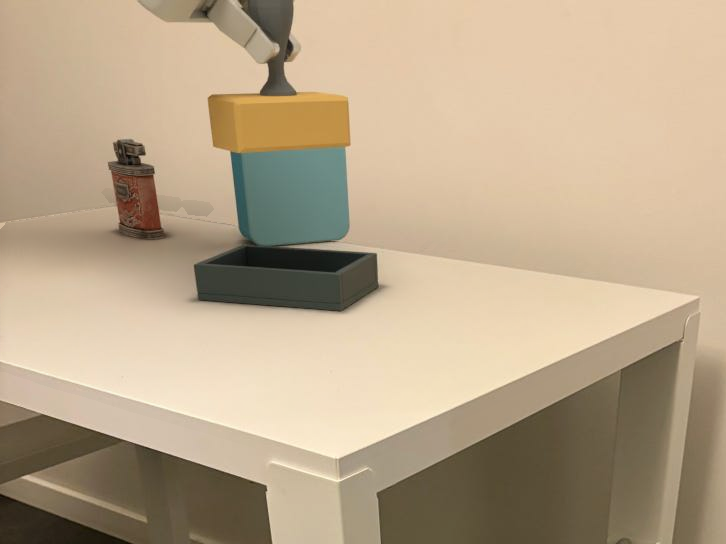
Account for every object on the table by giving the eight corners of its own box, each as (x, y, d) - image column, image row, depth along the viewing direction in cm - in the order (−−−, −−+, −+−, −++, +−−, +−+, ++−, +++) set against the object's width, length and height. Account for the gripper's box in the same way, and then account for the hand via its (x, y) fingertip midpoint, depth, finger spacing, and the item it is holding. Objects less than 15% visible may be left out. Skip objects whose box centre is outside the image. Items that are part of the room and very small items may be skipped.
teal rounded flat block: (336, 233, 118) (329, 121, 112) (351, 239, 115) (344, 124, 109) (239, 241, 113) (226, 124, 107) (251, 248, 110) (239, 128, 104)
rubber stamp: (320, 140, 85) (309, -27, 79) (352, 146, 81) (343, -28, 75) (211, 146, 81) (190, -31, 74) (240, 153, 77) (220, -33, 70)
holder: (341, 311, 87) (338, 274, 85) (197, 300, 90) (193, 264, 88) (378, 286, 95) (377, 252, 93) (246, 277, 98) (242, 244, 96)
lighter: (113, 230, 118) (96, 137, 113) (139, 227, 120) (124, 136, 115) (144, 240, 113) (128, 143, 108) (171, 236, 115) (157, 141, 110)
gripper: (196, -52, 84) (310, 82, 88) (50, -71, 68) (198, 95, 71) (237, -118, 81) (355, 24, 84) (94, -155, 64) (247, 23, 68)
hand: (282, 56), depth 77 cm, fingers closed on rubber stamp, 3 cm apart
